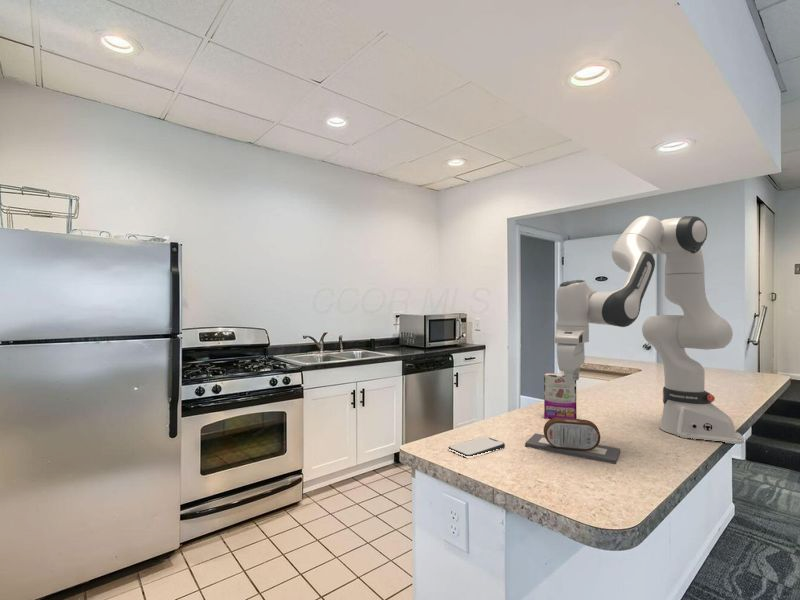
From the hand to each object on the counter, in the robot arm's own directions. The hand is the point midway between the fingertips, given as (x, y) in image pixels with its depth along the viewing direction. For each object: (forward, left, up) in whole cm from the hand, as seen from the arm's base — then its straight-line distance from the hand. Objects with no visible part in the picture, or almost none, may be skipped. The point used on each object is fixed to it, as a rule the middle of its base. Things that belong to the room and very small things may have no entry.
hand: (572, 382), depth 119 cm
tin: (0, +3, -19) cm, 19 cm away
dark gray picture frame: (0, 0, -19) cm, 19 cm away
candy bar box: (+10, -32, -20) cm, 39 cm away
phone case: (+23, +16, -20) cm, 34 cm away
